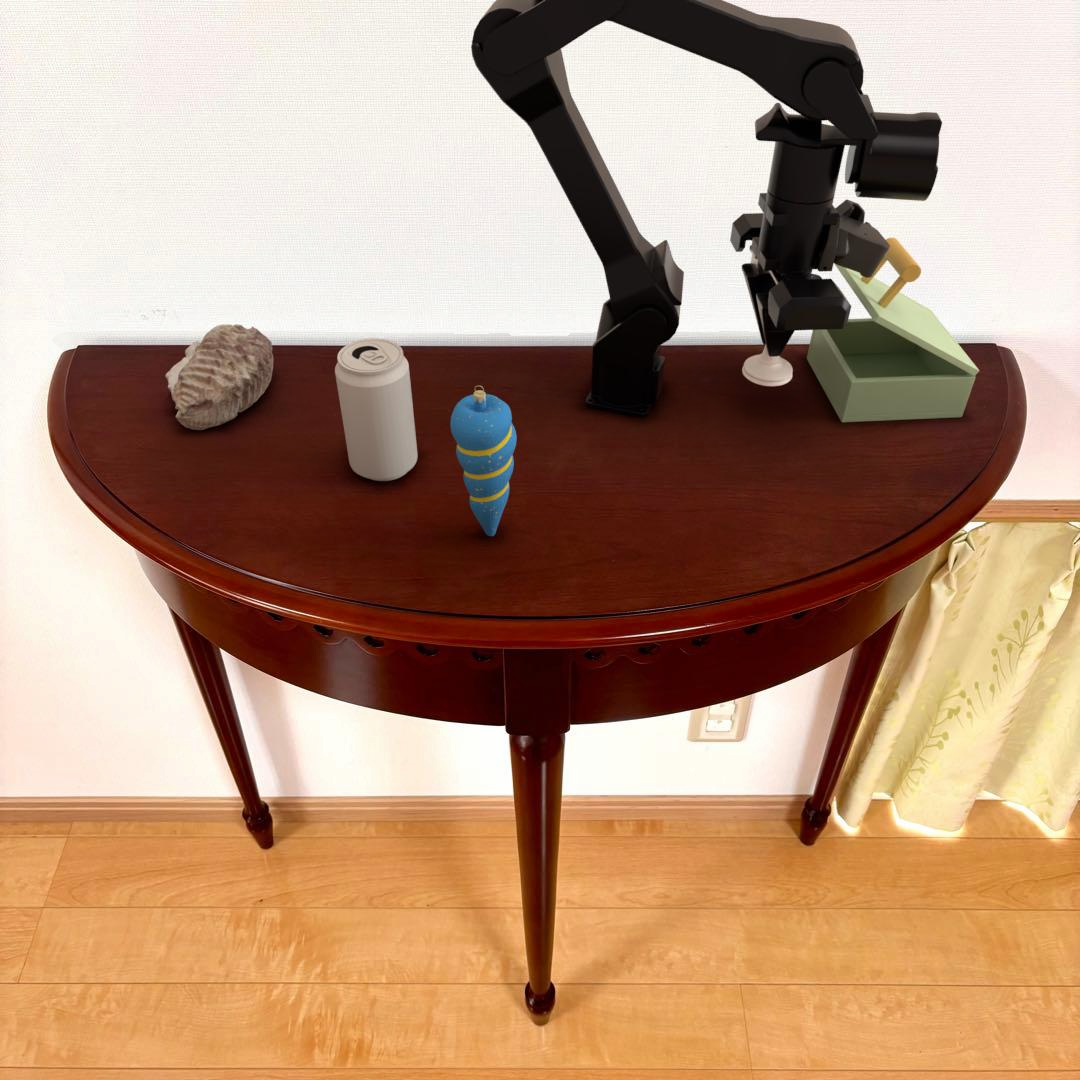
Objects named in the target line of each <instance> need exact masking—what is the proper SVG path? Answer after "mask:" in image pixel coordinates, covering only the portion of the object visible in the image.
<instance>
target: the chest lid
mask: <svg viewBox="0 0 1080 1080" xmlns="http://www.w3.org/2000/svg"><path fill="white" fill-rule="evenodd" d="M885 240H886V241H887V242H888V243H889V245H890V248H889V249H888V251H887V253H886V254H885V256H884V257H883V259H882V261H881V262H880V264H879V265H878V267H877V269H876V270H875V272H874V273H873V275H872V277H870V278H867V277H864V276H861V275H860V273H859V272H856V271H853V270H851V269H848V268H845V267H842V266H839V265H837V264H835V263H834V264H833V265H834V266H835V267H836V268H837V271H839V273H840V274H841V276H842V277H843V278H844V280H845V282H846V283H847V284H848V286H849V287H850V289H851V290H852V292H853V293H854V294H855V296H856V297H857V299H858V300H859V301H860V303H861V305H862V306H863V308H864V309H865V311H866V312H867V313H868V315H869V316H870V318H872V319H873V320H874V322H876V323H878V324H880V325H882V326H883V327H885V328H887V329H889V330H891V331H893V332H894V333H896V334H898V335H900V336H902V337H904V338H905V339H907V340H909V341H911V342H913V343H915V344H916V345H918V346H920V347H922V348H924V349H926V350H927V351H929V352H931V353H933V354H935V355H937V356H938V357H940V358H942V359H944V360H946V361H948V362H949V363H951V364H953V365H955V366H957V367H959V368H961V369H962V370H964V371H966V372H968V373H970V374H972V375H973V376H975V377H976V375H977V374H978V373H979V372H980V370H979V368H978V367H977V366H976V364H975V363H974V362H973V361H972V360H971V358H970V357H969V356H968V354H967V353H966V352H965V350H964V349H963V348H962V347H961V345H960V344H959V343H958V342H957V341H956V339H955V338H954V336H953V335H952V334H951V333H950V332H949V330H948V329H947V327H946V326H945V325H944V324H943V323H942V322H941V320H940V319H939V318H938V316H937V315H936V314H935V313H934V312H933V310H932V309H930V308H929V307H927V306H925V305H923V304H921V303H920V302H918V301H916V300H914V299H913V298H911V297H909V296H908V295H906V294H904V293H903V292H901V290H902V289H903V288H904V287H905V286H906V284H907V283H913V282H915V281H917V280H918V279H919V278H920V277H921V274H922V268H921V266H920V265H919V264H918V262H916V260H915V259H914V257H912V255H911V254H910V253H909V252H908V250H906V248H905V247H904V246H903V244H901V242H900V241H899V240H898V239H897V238H896V237H888V238H886V239H885ZM887 261H888V263H889V264H890V265H891V267H892V268H893V269H894V271H895V272H896V273H897V274H898V277H897V278H896V280H895V281H894V282H893V283H892V284H891V285H888V284H887V283H884V282H883V281H881V280H879V279H878V278H876V277H875V276H876V275H877V274H878V272H879V271H880V270H881V269H882V268H883V266H884V265H885V264H886V263H887Z"/></svg>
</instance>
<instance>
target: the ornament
mask: <svg viewBox="0 0 1080 1080" xmlns="http://www.w3.org/2000/svg"><path fill="white" fill-rule="evenodd" d="M477 387H478V385H476V386H474V392H473V394H470V395H467V396H465V397H463V398H462V399H460V400H459V401H458V402H457V403H456V405H455V407H454V408H453V411H452V413H451V416H450V425H449V426H450V431H451V434H452V437H453V438H454V440H455V443H456V449H455V454H456V457H457V460H458V462H459V465H460V466H461V468H462V469H463V470H464V471H463V482H464V485H465V487H466V490H467V492H468V493H469V495H470V496H469V506H470V509H471V511H472V513H473V515H474V516H475V518H476V520H477V521H478V523H479V525H480V526H481V528H482V530H483V531H484V533H485V534H486V536H488V537H494V536H495V535H496V533H497V529H498V527H499V524H500V521H501V518H502V515H503V512H504V511H505V508H506V505H507V502H508V500H509V496H510V480H511V477H512V475H513V472H514V467H515V466H514V465H515V460H514V455H513V454H514V452H515V449H516V447H517V439H518V438H517V437H518V436H517V431H516V428H515V426H514V424H513V422H512V421H513V417H512V410H511V408H510V406H509V405H508V403H506V402H505V401H503V400H502V399H501V398H499V397H497V396H495V395H493V394H489V393H486V392H485V389H484V387H483V386H482V385H479V387H480V388H481V389H482V390H481V389H479V390H476V388H477Z"/></svg>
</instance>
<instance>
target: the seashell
mask: <svg viewBox="0 0 1080 1080" xmlns="http://www.w3.org/2000/svg"><path fill="white" fill-rule="evenodd" d="M184 355H185V357H183V358H182V359H181V360H180V361H178V362H177V363H176V364H174V365H173V366H172V367H171V368H170V370H169V371H167V372H166V374H165V379H166V381H167V382H168V385H167V388H168V389H169V391H170V392H171V393H170V394H171V399H172V401H173V402H174V403H175V407H174V409H175V410H178V411H177V413H176V415H175V418H176V420H177V421H178V422H179V423H180V424H181V425H182V426H184V428H185V429H189V430H193V431H194V430H195V431H203V430H207V429H209V428H212V427H213V428H214V427H216V426H217V427H218V426H221V425H223V424H225V423H227V422H230V421H232V420H234V419H235V418H236V417H237V416H238V413H242V412H244V411H245V410H247V409H249V408H250V407H252V406H253V404H254V403H256V402H257V401H258V400H259V398H260V397H261V396H262V395H263V394H264V393H265V391H266V390H267V388H268V387H269V385H270V383H271V381H272V377H273V369H274V355H273V343H272V341H271V340H270V339H269V338H268V337H267V336H266V335H265V334H263V333H262V332H261V331H260V330H259V329H258V328H256V327H254V326H251V327H250V328H247V327H244V326H243V325H242V324H237V323H236V324H231V323H229V324H219V325H216V326H214V327H213V328H211V329H210V330H209V331H208V332H206V333H205V334H204V336H203V338H202V340H201V342H199V340H197V341H193V342H192V343H191V344H190V345H189V346H188V347H187V348H186V349H185V350H184Z"/></svg>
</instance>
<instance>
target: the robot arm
mask: <svg viewBox="0 0 1080 1080" xmlns="http://www.w3.org/2000/svg"><path fill="white" fill-rule="evenodd" d="M605 22H612V23H615V24H617V25H618V26H622V27H625V28H627V29H630V30H632V31H634V32H637V33H640V34H642V35H645V36H648V37H650V38H653V39H656V40H658V41H660V42H664V43H666V44H667V45H668V44H669V45H671V46H673V47H676V48H678V49H681V50H683V51H686V52H688V53H691V54H694V55H696V56H699V57H701V58H704V59H707V60H709V61H711V62H714V63H716V64H719V65H721V66H724V67H727V68H729V69H731V70H734V71H738V72H739V73H741V74H743V75H744V76H746V77H747V78H749V79H750V80H752V81H753V82H754V83H756V84H757V85H758V86H759V87H760V88H762V89H763V90H764V91H765V92H766V93H767V94H769V95H770V96H771V97H773V98H774V99H775V100H776V101H779V102H776V103H774V104H773V106H772V108H771V109H770V110H769V111H767V112H766V113H764V114H763V115H761V116H759V118H757V119H756V120H755V121H754V133H755V139H756V141H760V142H774V148H773V153H772V159H771V166H770V173H769V178H768V184H767V185H768V186H767V189H766V192H760V193H759V196H758V203H757V206H758V207H759V208H760V210H761V211H762V212H756V213H755V212H754V213H749V212H748V213H742V214H740V216H739V217H738V218H737V219H735V220H734V221H733V222H732V225H731V232H730V239H729V241H730V244H731V246H732V247H733V249H734V251H735V253H741V252H743V251H744V250H745V249H746V244H747V241H751V245H749V251H750V253H751V258H750V262H748V263H742V264H741V271H742V274H743V277H744V280H745V284H746V289H747V290H748V294H749V298H750V302H751V306H752V309H753V312H754V317H755V320H756V324H757V327H758V332H759V336H760V339H761V342H762V345H764V346H765V344H766V347H767V352H768V355H769V356H770V357H776V356H780V357H781V356H782V353H783V351H785V348H786V346H787V344H788V343H789V341H790V340H791V338H792V336H793V334H794V333H795V331H813V330H826V329H843V328H844V327H846V326H847V323H848V319H850V318H849V317H850V313H851V310H852V305H851V303H850V302H849V300H848V299H847V297H846V296H845V294H844V293H843V291H842V290H841V288H840V287H839V286H838V284H837V283H836V282H835V281H834V280H833V279H832V278H822V276H821V275H819V274H816V273H813V270H817V271H818V272H821V273H823V272H832V271H833V268H834V265H835V264H837V265H839V266H842V267H845V268H848V269H851V270H853V271H856V272H859V273H860V275H861V276H864V277H867V278H870V277H872V275H873V273H874V272H875V270H876V269H877V267H878V265H879V264H880V262H881V261H882V259H883V257H884V256H885V254H886V253H887V251H888V249H889V248H890V245H889V243H888V242H887V241H886V239H885V237H884V236H883V235H882V233H881V232H880V231H879V230H878V228H875V227H874V226H872V224H871V222H868V221H865V217H866V211H865V210H864V209H863V207H862V205H860V203H858V202H855V201H852V200H851V199H845V200H843V201H842V203H840V204H839V205H837V206H836V207H835V206H834V204H833V203H834V199H835V195H836V190H837V184H838V180H839V176H840V171H841V166H842V161H843V157H844V151H845V147H846V146H849V147H848V150H847V156H846V161H845V168H844V169H845V170H844V182H845V184H846V185H847V184H848V185H853V184H854V192H855V196H856V197H857V198H867V199H884V200H901V201H915V202H916V201H917V202H925V201H927V199H928V198H929V197H930V195H931V193H932V191H933V189H934V185H935V183H936V180H937V176H938V171H939V167H938V158H939V151H940V133H941V129H942V125H943V121H942V119H941V117H940V115H939V114H938V112H933V111H932V112H929V111H920V112H916V113H901V112H899V113H897V112H879V111H874V110H875V109H874V108H873V105H872V102H871V99H870V97H869V95H868V94H866V93H865V94H864V92H863V90H862V88H863V84H864V74H865V73H864V68H863V64H862V60H861V57H860V53H859V52H858V49H857V46H856V44H855V41H854V39H853V37H852V36H851V34H850V33H849V32H848V31H847V30H845V29H844V28H843V27H841V26H839V25H836V24H832V23H827V22H821V21H816V20H812V19H811V20H810V19H804V18H799V17H782V16H781V17H780V16H770V15H765V14H759V13H756V12H753V11H751V10H749V9H746V8H743V7H741V6H738V5H736V4H733V3H731V2H728V1H725V0H495V1H494V2H493V3H492V4H491V6H490V7H489V8H488V9H487V10H486V12H485V13H484V14H483V16H482V17H481V18H480V20H479V22H478V23H477V25H476V27H475V28H474V30H473V36H472V41H471V45H470V48H471V57H472V60H473V62H474V65H475V67H476V68H477V70H478V71H479V73H480V74H481V76H482V77H483V78H484V80H485V81H486V82H487V83H488V84H489V86H490V87H491V89H492V90H493V91H494V93H495V94H496V95H497V97H498V98H499V99H500V100H501V102H503V104H504V105H506V107H508V108H509V109H510V110H511V111H512V112H513V113H514V114H516V115H517V116H518V117H519V118H520V119H521V120H522V121H524V123H525V124H527V127H528V128H529V129H530V130H531V133H532V135H533V136H534V138H535V140H536V141H537V143H538V146H539V147H540V149H541V151H542V153H543V155H544V156H545V159H546V160H547V162H548V164H549V166H550V168H551V170H552V172H553V173H554V175H555V177H556V179H557V182H558V183H559V185H560V187H561V189H562V190H563V192H564V194H565V196H566V198H567V200H568V202H569V204H570V206H571V207H572V209H573V211H574V213H575V215H576V217H577V219H578V221H579V222H580V224H581V226H582V229H583V230H584V232H585V234H586V236H587V237H588V240H589V241H590V243H591V246H592V247H593V249H594V250H595V253H596V254H597V256H598V259H599V260H600V262H601V264H602V268H603V271H604V277H605V280H606V286H607V290H608V296H609V298H608V299H607V300H605V302H603V304H602V307H601V313H600V317H599V323H598V326H597V332H596V337H595V340H594V342H593V344H592V354H591V355H592V358H591V382H590V391H589V393H588V395H587V396H586V398H585V402H584V403H585V406H586V407H590V408H595V409H599V410H604V411H608V412H609V411H610V412H614V413H620V414H624V415H629V416H633V417H634V416H635V417H641V418H644V417H647V416H648V415H649V413H650V410H651V408H652V406H653V405H655V404H657V402H658V400H659V398H660V396H661V394H662V391H663V382H664V373H665V363H666V358H665V356H662V355H661V348H662V345H663V344H665V343H666V342H668V341H670V340H671V339H672V338H673V336H674V335H675V334H676V332H677V330H678V327H679V325H680V317H681V306H682V303H683V291H684V290H683V289H684V280H685V279H684V278H685V272H684V270H682V269H681V268H680V267H679V266H678V264H677V262H676V261H675V260H674V258H673V257H674V256H673V254H672V251H671V247H670V243H669V242H668V240H667V239H665V240H664V239H663V240H662V241H661V242H660V243H658V244H656V245H655V246H654V245H653V244H652V243H651V242H650V241H649V240H647V239H646V237H644V236H643V235H642V233H641V232H640V231H639V229H638V227H637V225H636V222H635V220H634V219H633V217H632V214H631V213H630V210H629V209H628V206H627V204H626V202H625V201H624V198H623V196H622V195H621V192H620V190H619V189H618V187H617V185H616V184H617V183H616V182H615V180H614V179H613V176H612V175H611V172H610V170H609V168H608V167H607V165H606V163H605V160H604V158H603V156H602V154H601V153H600V150H599V148H598V145H596V142H595V140H594V138H593V136H592V135H591V132H590V130H589V128H588V126H587V124H586V122H585V120H584V118H583V116H582V114H581V112H580V110H579V108H578V106H577V104H576V102H575V100H574V98H573V97H572V93H571V90H570V86H569V85H570V84H569V79H568V76H567V70H566V66H565V65H566V64H565V60H564V56H563V52H562V49H563V48H565V47H566V46H568V45H569V44H570V43H572V42H574V41H575V40H577V39H579V38H580V37H581V36H583V35H585V34H586V33H588V32H589V31H590V30H592V29H594V28H595V27H597V26H599V25H601V24H603V23H605ZM781 103H782V104H783V105H785V106H786V107H788V108H789V109H791V110H792V111H794V112H796V113H797V114H796V113H795V114H794V113H788V112H787V111H786V110H785V109H784V108H783V105H782V104H781ZM823 121H828V122H829V123H830V124H831V125H830V124H826V123H823ZM834 263H835V264H834Z"/></svg>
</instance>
